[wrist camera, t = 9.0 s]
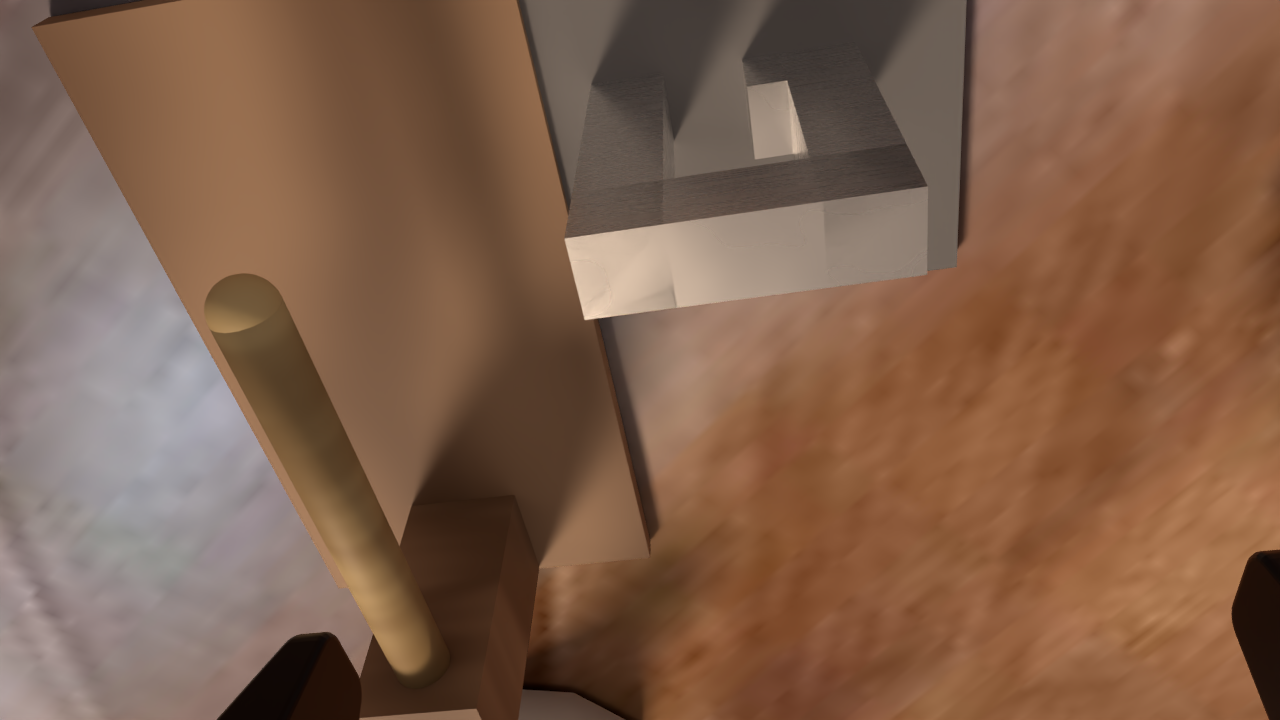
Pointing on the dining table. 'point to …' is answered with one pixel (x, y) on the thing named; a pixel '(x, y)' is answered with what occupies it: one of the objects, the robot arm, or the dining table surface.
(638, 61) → the slate coaster
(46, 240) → the dining table surface
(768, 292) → the slotted rectangular block
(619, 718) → the flask
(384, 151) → the link stand
